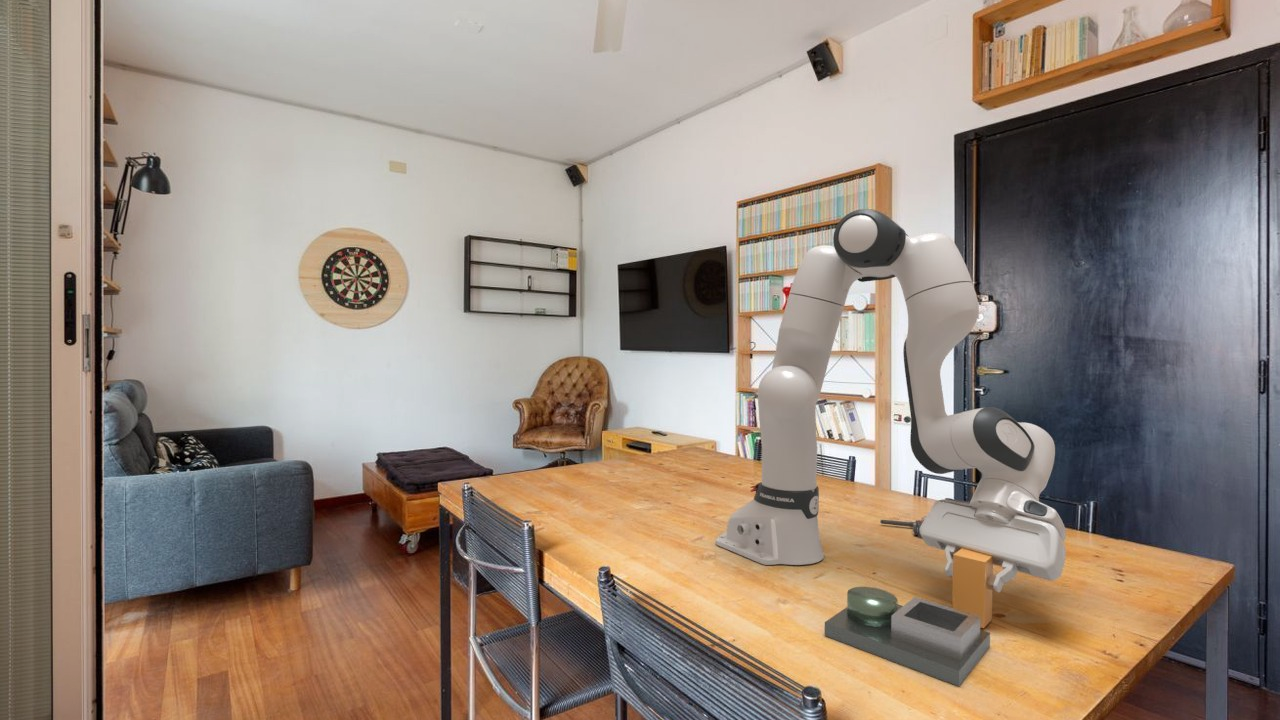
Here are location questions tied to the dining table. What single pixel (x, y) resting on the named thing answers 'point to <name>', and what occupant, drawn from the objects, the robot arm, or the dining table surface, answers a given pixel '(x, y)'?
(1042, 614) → the dining table surface
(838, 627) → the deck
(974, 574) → the tall orange prism
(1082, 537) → the dining table surface
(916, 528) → the walkie-talkie
